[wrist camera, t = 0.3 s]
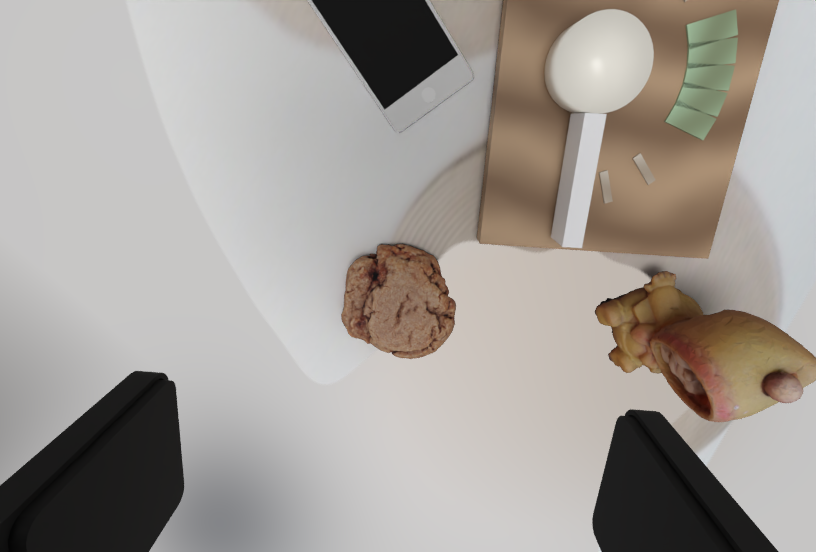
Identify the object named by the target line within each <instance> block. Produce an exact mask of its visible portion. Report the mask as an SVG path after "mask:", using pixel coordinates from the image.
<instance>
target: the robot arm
mask: <svg viewBox="0 0 816 552" xmlns="http://www.w3.org/2000/svg"><path fill="white" fill-rule="evenodd" d="M183 491H184V477H183V466H182V454H181V442H180V431H179V419H178V408H177V396H176V387H175V383H174V382H173V381H168V377H167V376H166V375H165V374H164V373H156V372H143V371H135V372H133V373H131V374H130V375H129V376H127V377H126V378H125V379H124V380H123V381H122V382H120V383H119V384H118V385H117V386H116V387H115V388H114V389H112V390H111V391H110V392H109V393H108V394H106V395H105V396H104V397H103V398H102V399H101V400H99V401H98V402H97V403H96V404H95V405H94V406H93V407H91V408H90V409H89V410H88V411H87V412H85V413H84V414H83V415H82V416H81V417H80V418H79V419H77V420H76V421H75V422H74V423H73V424H72V425H71V426H69V427H68V428H67V429H66V430H65V431H63V432H62V433H61V434H60V435H59V436H58V437H56V438H55V439H54V440H53V441H52V442H51V443H50V444H48V445H47V446H46V447H45V448H44V449H42V450H41V451H40V452H39V453H38V454H37V455H35V456H34V457H33V458H32V459H31V460H30V461H28V462H27V463H26V464H25V465H24V466H23V467H21V468H20V469H19V470H18V471H17V472H16V473H14V474H13V475H12V476H11V477H10V478H9V479H8V480H7V481H5V482H4V483H3V484H2V485H1V486H0V552H149V551H150V549H151V547H152V546H153V544H154V543H155V541H156V539H157V538H158V536H159V535H160V533H161V532H162V530H163V528H164V527H165V525H166V523H167V522H168V521H169V519H170V517H171V516H172V514H173V513H174V511H175V510H176V508H177V506H178V505H179V503H180V501H181V498H182V495H183ZM593 530H594V535H595V537H596V540H597V542H598V544H599V547H600V549H601V551H602V552H778V551H777V549H776V548H775V547H774V546H773V545H772V544H771V543H770V541H769V540H768V539H767V538H766V536H765V535H764V534H763V533H762V532H761V531H760V529H759V528H758V527H757V526H756V525H755V523H754V522H753V521H752V520H751V519H750V518H749V516H748V515H747V514H746V513H745V512H744V511H743V509H742V508H741V507H740V506H739V505H738V503H737V502H736V501H735V500H734V499H733V498H732V496H731V495H730V494H729V493H728V492H727V491H726V489H725V488H724V487H723V486H722V485H721V483H720V482H719V481H718V480H717V479H716V477H715V476H714V475H713V474H712V473H711V472H710V470H709V469H708V468H707V467H706V466H705V465H704V463H703V462H702V461H701V460H700V459H699V457H698V456H697V455H696V454H695V453H694V452H693V450H692V449H691V448H690V447H689V446H688V444H687V443H686V442H685V441H684V440H683V439H682V437H681V436H680V435H679V434H678V433H677V431H676V430H675V429H674V428H673V427H672V426H671V424H670V423H669V422H668V421H667V420H666V419H665V417H664V416H663V415H662V414H661V413H660V412H656V411H644V410H628V411H627V412H626V414H625V416H620V417H619V418H618V419H617V421H616V425H615V429H614V433H613V437H612V441H611V445H610V449H609V453H608V457H607V461H606V465H605V469H604V474H603V477H602V482H601V486H600V489H599V493H598V497H597V501H596V506H595V509H594V513H593Z"/></svg>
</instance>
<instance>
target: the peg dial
mask: <svg viewBox="0 0 816 552" xmlns="http://www.w3.org/2000/svg"><path fill="white" fill-rule="evenodd" d="M653 59H654V50H653V43H652V39H651V37H650V34H649V32H648V30H647V28H646V27H645V26H644V24H643V23H642V22H641V21H640V20H639V19H638V18H637V17H635V16H634V15H632V14H630V13H628V12H625V11H622V10H617V9H606V10H601V11H597V12H594V13H592V14H590V15H588V16H586V17H585V18H583V19H581V20H580V21H578V22H577V23H575V24H573V25H572V26H570V27H569V28H567V29H566V30H565V31H564V32H562V33H561V34H560V35H559V36H558V38H557V39H556V40H555V41H554V43H553V45H552V46H551V48H550V50H549V53H548V55H547V58H546V63H545V71H544V73H545V82H546V86H547V89H548V92H549V94H550V96H551V97H552V99H553V100H554V101H555V102H556V103H557V104H558V105H559V106H560V107H561V108H563V109H565V110H567V111H569V112H572V114H571V115H570V122H569V128H568V134H567V140H566V146H565V152H564V159H563V165H562V171H561V177H560V183H559V189H558V196H557V202H556V208H555V214H554V220H553V226H552V233H551V238H552V239H554V240H555V241H556V242H557V243H558V244H559V245H561V246H562V247H571V248H582V245H583V240H584V234H585V229H586V223H587V218H588V213H589V207H590V202H591V196H592V191H593V186H594V180H595V175H596V169H597V164H598V158H599V153H600V148H601V142H602V137H603V131H604V126H605V121H606V115H607V114H599V113H608V112H612V111H615V110H617V109H620V108H622V107H623V106H625V105H627V104H628V103H630V102H631V101H632V100H633V99H634V98H635V97H636V96H637V95H638V94H639V93H640V92H641V90H642V89H643V87H644V86H645V84H646V82H647V81H648V78H649V76H650V73H651V70H652V66H653Z"/></svg>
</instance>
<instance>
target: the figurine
mask: <svg viewBox="0 0 816 552" xmlns="http://www.w3.org/2000/svg"><path fill="white" fill-rule="evenodd" d="M675 280H676V274H673V273H670V272H667V271H662V272H659V273H657V274H656V275H655V276H653V277H652V279H651V282H649V283H648V284H645V285H644V288H639V289H635V290H634V291H630V292H629V293H627V294H624V295H621V296H619V297H617V298H614V299H610V298H607V300H606V301H602V302H601V304H600V305H598V306H597V308H596V310H595V314H596V315H597V318H598V320H599V322H600V323H601V324H603V325H608V326H611V327H612V333H613V337H614V339H615V342H616V343H617V347H616V348H614V349H613V350H612V351H611V352H610V353H609V354H608V355H609V359H610V360H611V361H613V362H614V364H615V365H617V366H620V367H621V368H622V370H623V371H624V372H626V373H630V372H632V371H634V370H635V369H636V368H638V367H639V368H640V367H641V366H642V365H645V366H646V367H648V368H649V369H650V371H651V372H653V373H662V374H663V375H664V376H665V378H666V379H667V382H668V383H669V385H670V386H671V387H672V389H673V390H674V391H675V393H676V394H677V395H678V396H679V397H680V398H681V400H682V401H683V402H684V403H685V404H686V405H687V406H688V407H690V408H691V409H692V410H693V411H694V412H695V413H696V414H698V415H699V416H700V417H702V418H704V419H706V420H708V421H714V422H726V421H730V420H735V419H741V418H745V417H748V416H751V415H753V414H756V413H758V412H760V411H762V410H764V409H766V408H768V407H770V406H772V405H774V404H776V403H778V402H782V403H791V402H794V401H797V400H798V399H800V397H801V396H802V394H803V388H804V387H805V386H807V385H809V384H811V383H812V382H814V381H815V380H816V357H814V356H813V354H812V353H810V352H809V351H808V350H807V349H805V348H804V347H803V346H802V345H801V344H800V343H798V342H797V341H795V340H794V339H793V338H791V337H790V336H789V335H788V334H787V333H785V332H783V331H782V330H781V329H779V328H778V327H776V326H775V325H773V324H771V323H770V322H768V321H766V320H764V319H762V318H759V317H757V316H754V315H751V314H748V313H746V312H742V311H735V310H723V311H721V312H718V313H715V314H711V315H703V312H702V310H701V308H700V306H699V305H698V304H697V302H696V301H695V300H694V299H693V298H691V297H689V296H687V295H685V294H683V293H682V292H681V291H680V290H678V289H676V288H675V287H674V286H675Z"/></svg>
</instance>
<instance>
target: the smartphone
mask: <svg viewBox="0 0 816 552" xmlns="http://www.w3.org/2000/svg"><path fill="white" fill-rule="evenodd" d="M307 1H308V2H309V4H310V5H311V7H312V8H313V10H314V11H315V13H316V14H317V16H318V17H319V19H320V20H321V22H322V23H323V25H324V26H325V28H326V29H327V31H328V32H329V34H330V35H331V37H332V38H333V40H334V41H335V43H336V44H337V46H338V47H339V48H340V50H341V51H342V53H343V54H344V56H345V57H346V59H347V60H348V62H349V63H350V65H351V66H352V68H353V69H354V71H355V72H356V74H357V75H358V77H359V78H360V80H361V81H362V83H363V84H364V86H365V87H366V89H367V90H368V92H369V93H370V95H371V96H372V98H373V99H374V101H375V102H376V104H377V105H378V107H379V108H380V110H381V111H382V113H383V114H384V116H385V117H386V119H387V120H388V122H389V123H390V125H391V126H392V127H393V129H394V130H395V131H397V132H402V131H403V130H405V129H406V128H407V127H409V126H410V125H411V124H413V123H414V122H416V121H417V120H418V119H420V118H421V117H422V116H424V115H425V114H427V113H428V112H429V111H431V110H432V109H433V108H435V107H436V106H437V105H439V104H440V103H442V102H443V101H444V100H446V99H447V98H448V97H450V96H451V95H453V94H454V93H455V92H457V91H458V90H459V89H461V88H462V87H464V86H465V85H466V84H468V83H469V82H470V81H472V80H473V72H472V70H471V68H470V67H469V65H468V63H467V62H466V60H465V58H464V57H463V55H462V53H461V52H460V50H459V48H458V47H457V45H456V43H455V42H454V40H453V38H452V37H451V35H450V33H449V32H448V30H447V28H446V27H445V25H444V23H443V22H442V20H441V18H440V17H439V15H438V13H437V12H436V10H435V8H434V7H433V5H432V3H431V2H430V0H307Z"/></svg>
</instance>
